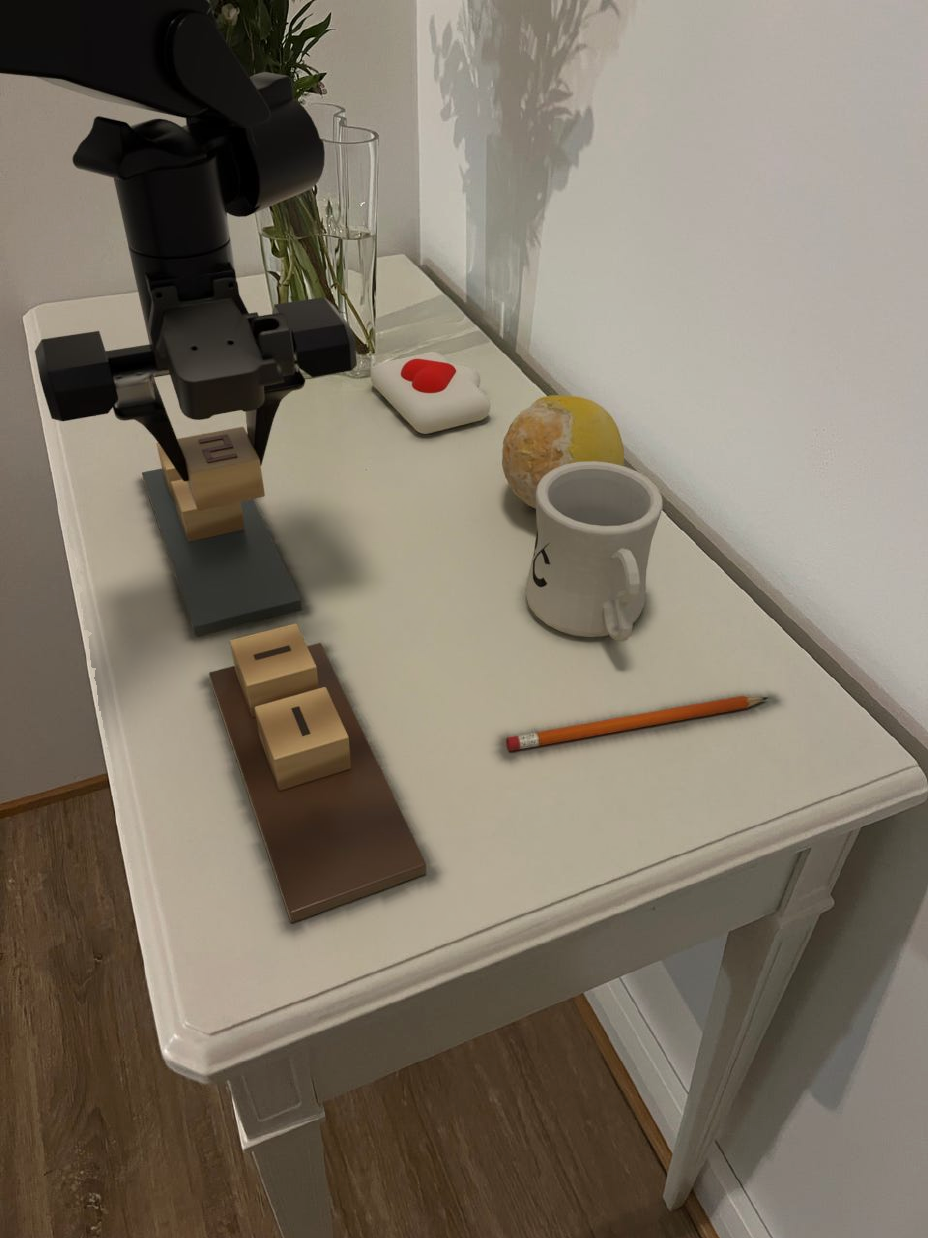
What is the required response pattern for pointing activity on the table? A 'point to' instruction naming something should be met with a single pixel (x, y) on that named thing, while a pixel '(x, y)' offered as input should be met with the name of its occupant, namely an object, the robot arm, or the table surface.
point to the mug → (592, 548)
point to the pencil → (630, 722)
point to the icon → (431, 391)
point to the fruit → (557, 441)
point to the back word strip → (219, 556)
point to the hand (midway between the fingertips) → (221, 471)
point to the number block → (222, 468)
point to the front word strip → (323, 813)
